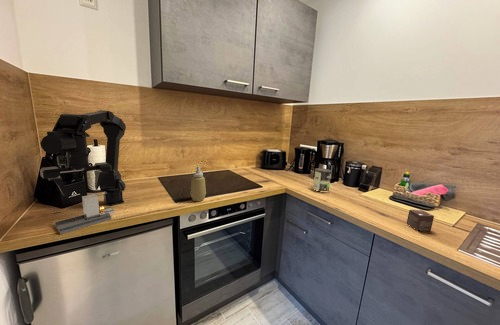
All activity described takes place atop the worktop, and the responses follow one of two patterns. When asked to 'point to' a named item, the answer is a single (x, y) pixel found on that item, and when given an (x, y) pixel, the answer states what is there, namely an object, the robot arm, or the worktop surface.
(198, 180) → the squeeze bottle
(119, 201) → the robot arm
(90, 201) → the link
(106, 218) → the rail
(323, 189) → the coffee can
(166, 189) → the worktop surface
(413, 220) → the box
